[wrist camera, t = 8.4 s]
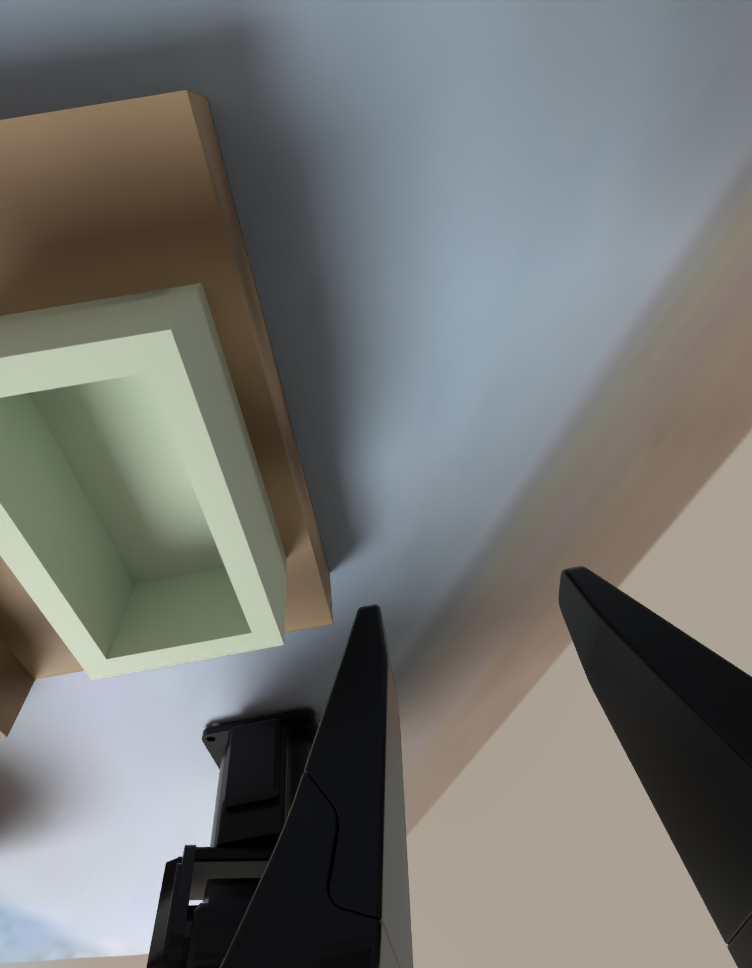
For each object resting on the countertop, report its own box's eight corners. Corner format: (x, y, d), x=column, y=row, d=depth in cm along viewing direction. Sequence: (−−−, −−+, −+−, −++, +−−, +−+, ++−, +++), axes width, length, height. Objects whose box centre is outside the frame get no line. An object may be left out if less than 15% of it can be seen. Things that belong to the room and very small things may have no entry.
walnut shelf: (329, 574, 24) (336, 675, 20) (30, 629, 24) (-34, 744, 19) (206, 97, 14) (162, 80, 9) (-319, 183, 14) (-626, 207, 9)
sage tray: (286, 558, 19) (284, 644, 16) (127, 586, 19) (91, 680, 16) (202, 282, 14) (170, 329, 10) (-26, 320, 14) (-129, 379, 10)
